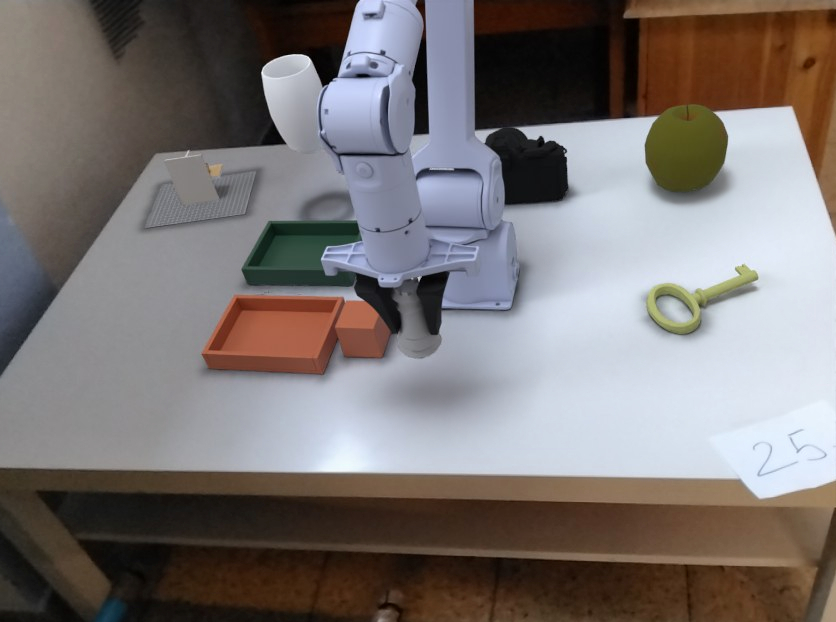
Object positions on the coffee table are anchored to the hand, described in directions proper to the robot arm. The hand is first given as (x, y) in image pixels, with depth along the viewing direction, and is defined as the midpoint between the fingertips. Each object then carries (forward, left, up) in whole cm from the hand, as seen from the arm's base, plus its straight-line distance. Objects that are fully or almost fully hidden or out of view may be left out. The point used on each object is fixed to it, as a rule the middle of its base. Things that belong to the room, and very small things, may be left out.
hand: (416, 327), depth 81 cm
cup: (+22, -33, -9) cm, 40 cm away
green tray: (+21, -22, -9) cm, 32 cm away
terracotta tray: (+20, -7, -9) cm, 23 cm away
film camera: (-3, -38, -9) cm, 39 cm away
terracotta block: (+9, -7, -9) cm, 14 cm away
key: (-27, -15, -9) cm, 32 cm away
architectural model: (+43, -36, -9) cm, 57 cm away
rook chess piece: (0, 0, -3) cm, 3 cm away
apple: (-25, -38, -9) cm, 46 cm away
